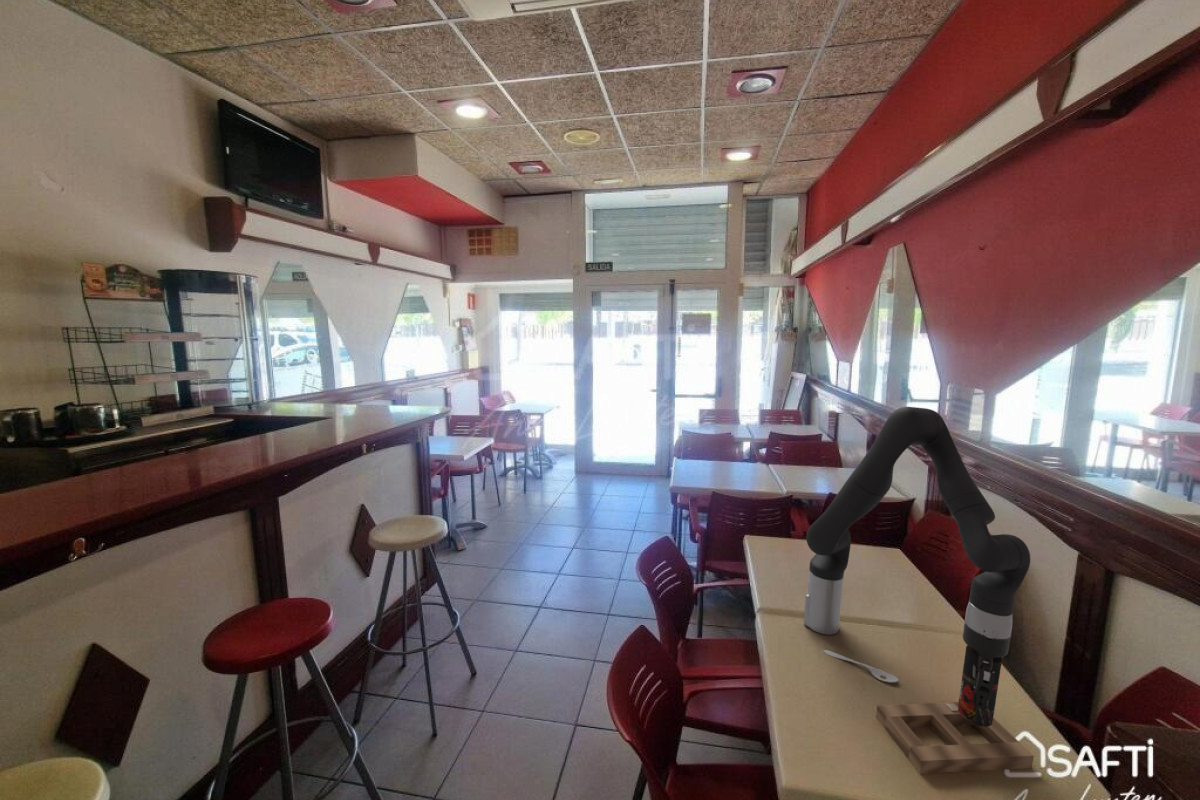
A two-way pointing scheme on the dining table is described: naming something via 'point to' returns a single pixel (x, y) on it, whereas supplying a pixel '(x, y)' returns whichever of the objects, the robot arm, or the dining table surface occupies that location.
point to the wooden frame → (951, 740)
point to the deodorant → (967, 690)
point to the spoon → (873, 670)
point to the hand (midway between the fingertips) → (977, 696)
